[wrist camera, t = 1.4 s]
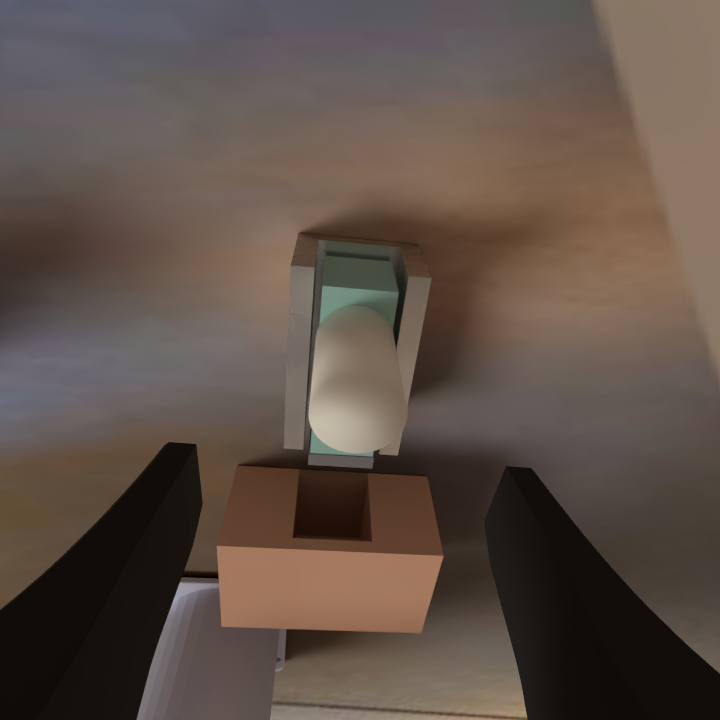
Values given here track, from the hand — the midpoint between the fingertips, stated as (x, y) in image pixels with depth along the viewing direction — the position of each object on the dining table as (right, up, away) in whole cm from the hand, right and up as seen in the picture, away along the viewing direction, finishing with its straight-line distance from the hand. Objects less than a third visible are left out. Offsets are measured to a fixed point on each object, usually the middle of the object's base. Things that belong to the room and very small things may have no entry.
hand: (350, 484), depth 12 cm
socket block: (-1, -5, +16) cm, 17 cm away
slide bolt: (0, +4, +10) cm, 11 cm away
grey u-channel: (0, +4, +10) cm, 11 cm away
